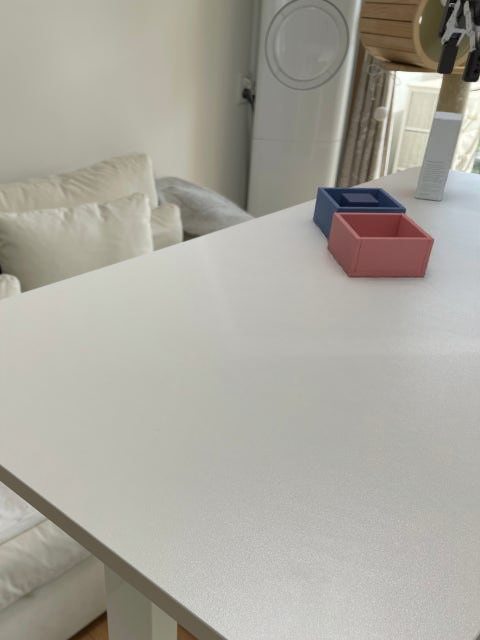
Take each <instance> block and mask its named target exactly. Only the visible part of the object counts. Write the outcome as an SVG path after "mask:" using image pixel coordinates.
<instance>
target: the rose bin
mask: <svg viewBox="0 0 480 640" xmlns="http://www.w3.org/2000/svg"><path fill="white" fill-rule="evenodd" d="M434 243H435V238H433V236H432V235H430V234H429V233H428V232H427V231H425V230H424V229H423V227H421V226H420V225H418V224H417V223H416V222H415V221H414V220H412V219H411V218H410V217H409V216H408V215H407V214H406V213H405V214H404V213H334V214H333V219H332V225H331V230H330V236H329V240H328V241H327V247H326V248H327V250H328V251H329V252H330V253H331V254H332V256H333V257H334V259H335V260H336V262H338V264H339V265H340V267H341V268H342V270H344V272H345V273H346V275H347V276H348V277H350V278H351V277H353V278H355V277H357V278H359V277H361V278H362V277H363V278H364V277H365V278H366V277H367V278H368V277H371V278H373V277H374V278H376V277H377V278H383V277H384V278H386V277H387V278H389V277H390V278H393V277H394V278H395V277H396V278H397V277H398V278H399V277H400V278H413V277H414V278H424V277H425V275H426V271H427V268H428V264H429V261H430V258H431V253H432V250H433V247H434Z"/></svg>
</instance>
